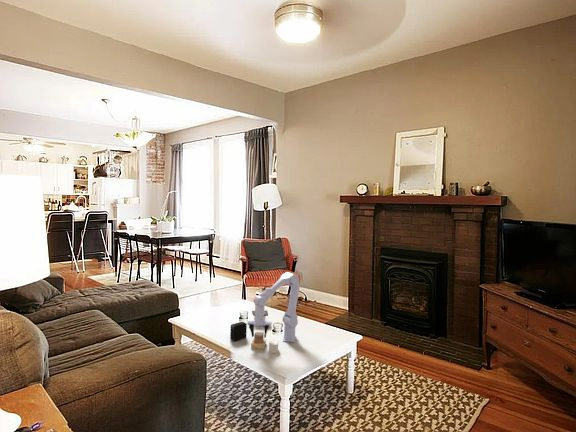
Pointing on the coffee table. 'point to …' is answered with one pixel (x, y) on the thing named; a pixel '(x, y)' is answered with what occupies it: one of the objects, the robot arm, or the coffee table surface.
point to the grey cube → (273, 346)
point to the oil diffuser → (264, 314)
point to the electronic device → (238, 331)
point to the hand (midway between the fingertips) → (259, 336)
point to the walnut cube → (258, 337)
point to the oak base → (258, 344)
